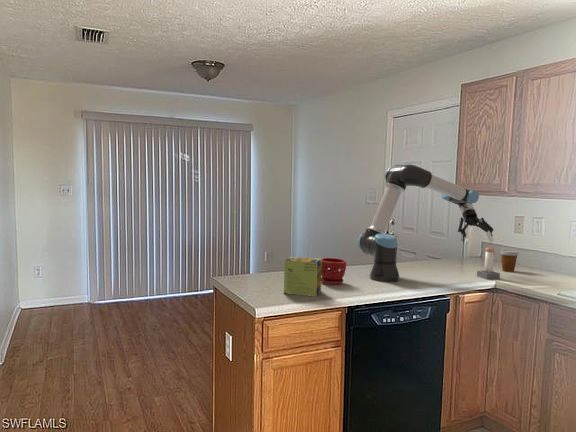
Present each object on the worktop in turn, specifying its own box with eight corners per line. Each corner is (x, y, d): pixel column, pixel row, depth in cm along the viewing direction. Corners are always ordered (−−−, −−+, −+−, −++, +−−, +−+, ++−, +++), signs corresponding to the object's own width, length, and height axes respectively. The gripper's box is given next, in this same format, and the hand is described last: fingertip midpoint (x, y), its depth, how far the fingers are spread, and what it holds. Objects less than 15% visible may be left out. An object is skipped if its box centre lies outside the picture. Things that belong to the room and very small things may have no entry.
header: (486, 281, 233) (487, 273, 233) (476, 277, 241) (477, 270, 241) (499, 280, 235) (500, 273, 235) (489, 277, 243) (489, 270, 243)
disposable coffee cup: (501, 272, 259) (502, 251, 258) (497, 268, 268) (498, 249, 267) (519, 273, 257) (520, 252, 256) (514, 270, 266) (516, 250, 265)
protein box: (316, 297, 195) (317, 262, 194) (283, 294, 199) (284, 260, 198) (321, 291, 205) (322, 258, 204) (289, 288, 209) (290, 256, 208)
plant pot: (335, 287, 213) (336, 263, 212) (314, 283, 222) (314, 259, 221) (350, 283, 223) (351, 259, 222) (329, 279, 232) (329, 256, 231)
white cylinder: (487, 278, 236) (489, 248, 234) (482, 276, 240) (484, 247, 238) (493, 278, 237) (495, 248, 235) (488, 276, 241) (490, 247, 239)
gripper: (486, 217, 265) (498, 245, 251) (446, 216, 263) (456, 245, 250) (491, 208, 259) (504, 237, 246) (450, 208, 258) (460, 236, 244)
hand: (480, 241), depth 247 cm, fingers open, 13 cm apart
